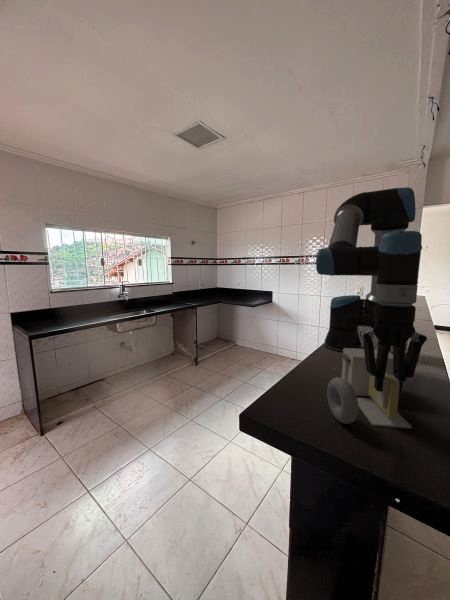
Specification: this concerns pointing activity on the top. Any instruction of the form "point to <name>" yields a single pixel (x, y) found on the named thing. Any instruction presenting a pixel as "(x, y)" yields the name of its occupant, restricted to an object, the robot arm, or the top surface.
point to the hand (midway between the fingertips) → (386, 404)
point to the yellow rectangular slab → (391, 395)
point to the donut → (342, 400)
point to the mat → (380, 415)
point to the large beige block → (360, 369)
